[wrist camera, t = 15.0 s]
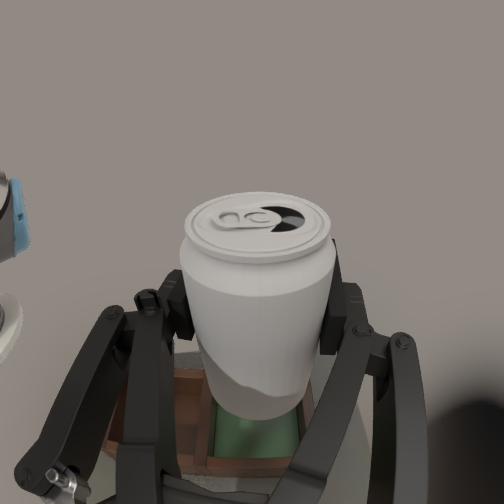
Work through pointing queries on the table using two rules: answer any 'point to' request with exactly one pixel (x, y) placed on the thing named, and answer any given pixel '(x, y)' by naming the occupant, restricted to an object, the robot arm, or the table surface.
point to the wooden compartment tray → (222, 432)
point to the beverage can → (257, 296)
